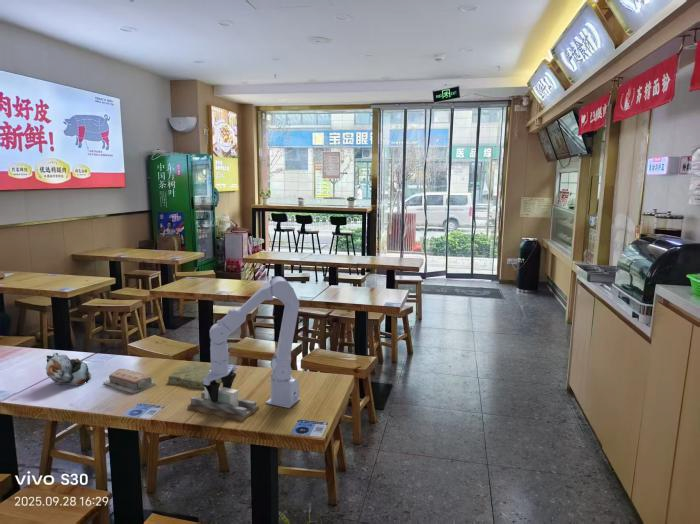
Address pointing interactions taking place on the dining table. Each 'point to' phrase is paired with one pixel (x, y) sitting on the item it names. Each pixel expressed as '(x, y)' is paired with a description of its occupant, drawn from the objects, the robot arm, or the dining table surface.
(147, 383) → the packaged product
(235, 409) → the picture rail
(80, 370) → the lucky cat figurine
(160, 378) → the dining table surface
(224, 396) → the tall cream box
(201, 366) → the green stone slab
